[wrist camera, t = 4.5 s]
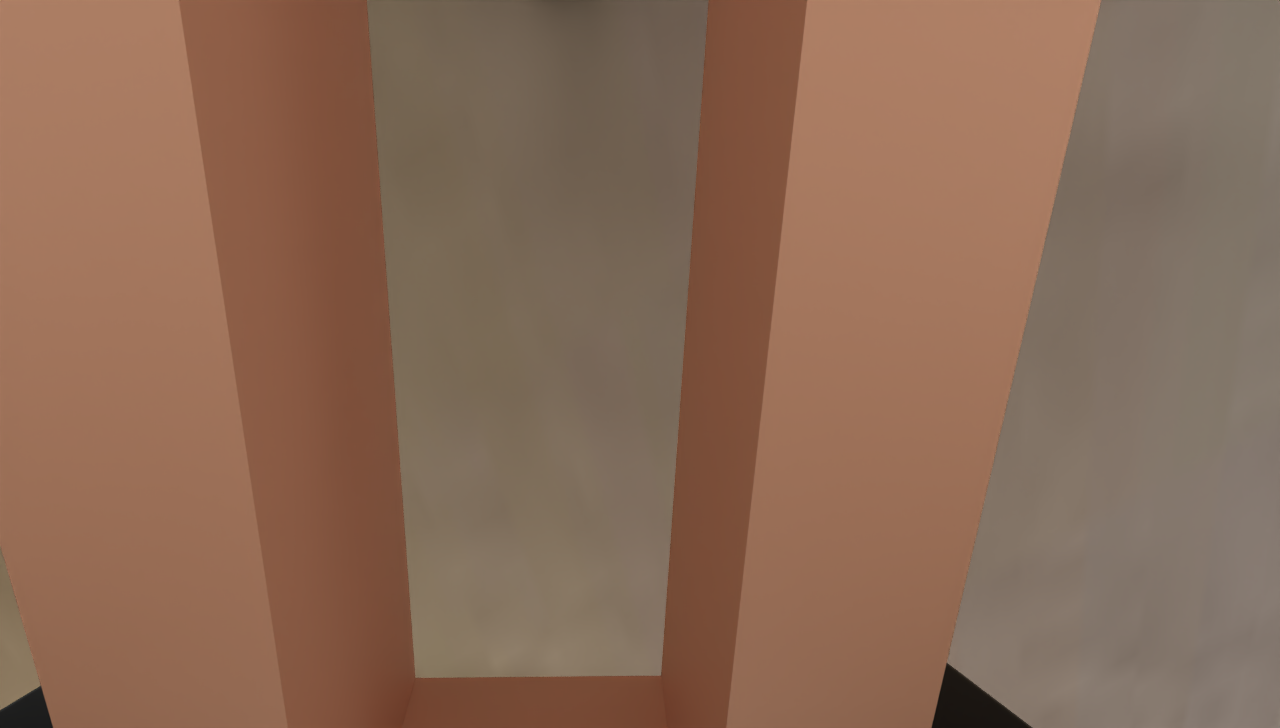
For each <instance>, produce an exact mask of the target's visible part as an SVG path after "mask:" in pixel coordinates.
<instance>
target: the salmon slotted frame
mask: <svg viewBox="0 0 1280 728" xmlns="http://www.w3.org/2000/svg"><path fill="white" fill-rule="evenodd" d="M1100 4H1101V0H709V3H708V18H707V32H706V46H705V60H704V74H703V89H702V103H701V117H700V131H699V146H698V160H697V174H696V188H695V202H694V217H693V231H692V245H691V259H690V274H689V288H688V302H687V316H686V330H685V345H684V359H683V373H682V387H681V401H680V416H679V430H678V444H677V458H676V473H675V487H674V501H673V515H672V529H671V544H670V558H669V572H668V586H667V601H666V615H665V629H664V643H663V657H662V672H661V676H583V677H478V678H415V667H414V653H413V639H412V625H411V611H410V597H409V583H408V569H407V555H406V541H405V527H404V514H403V500H402V486H401V472H400V458H399V444H398V430H397V416H396V402H395V388H394V374H393V360H392V346H391V333H390V319H389V305H388V291H387V277H386V263H385V249H384V235H383V221H382V207H381V193H380V179H379V165H378V151H377V138H376V124H375V110H374V96H373V82H372V68H371V54H370V40H369V26H368V12H367V0H0V546H1V549H2V553H3V556H4V560H5V563H6V566H7V570H8V573H9V577H10V580H11V584H12V587H13V591H14V594H15V598H16V601H17V604H18V608H19V611H20V615H21V618H22V622H23V625H24V629H25V632H26V636H27V639H28V642H29V646H30V649H31V653H32V656H33V660H34V663H35V667H36V670H37V674H38V677H39V680H40V684H41V687H42V691H43V694H44V698H45V701H46V705H47V708H48V712H49V715H50V718H51V722H52V725H53V728H931V727H932V723H933V719H934V715H935V710H936V706H937V702H938V697H939V693H940V689H941V685H942V680H943V676H944V672H945V668H946V663H947V659H948V655H949V650H950V646H951V642H952V638H953V633H954V629H955V625H956V620H957V616H958V612H959V608H960V603H961V599H962V595H963V590H964V586H965V582H966V578H967V573H968V569H969V565H970V560H971V556H972V552H973V548H974V543H975V539H976V535H977V530H978V526H979V522H980V518H981V513H982V509H983V505H984V500H985V496H986V492H987V488H988V483H989V479H990V475H991V470H992V466H993V462H994V458H995V453H996V449H997V445H998V440H999V436H1000V432H1001V428H1002V423H1003V419H1004V415H1005V411H1006V406H1007V402H1008V398H1009V393H1010V389H1011V385H1012V381H1013V376H1014V372H1015V368H1016V363H1017V359H1018V355H1019V351H1020V346H1021V342H1022V338H1023V333H1024V329H1025V325H1026V321H1027V316H1028V312H1029V308H1030V303H1031V299H1032V295H1033V291H1034V286H1035V282H1036V278H1037V273H1038V269H1039V265H1040V261H1041V256H1042V252H1043V248H1044V243H1045V239H1046V235H1047V231H1048V226H1049V222H1050V218H1051V213H1052V209H1053V205H1054V201H1055V196H1056V192H1057V188H1058V183H1059V179H1060V175H1061V171H1062V166H1063V162H1064V158H1065V154H1066V149H1067V145H1068V141H1069V136H1070V132H1071V128H1072V124H1073V119H1074V115H1075V111H1076V106H1077V102H1078V98H1079V94H1080V89H1081V85H1082V81H1083V76H1084V72H1085V68H1086V64H1087V59H1088V55H1089V51H1090V46H1091V42H1092V38H1093V34H1094V29H1095V25H1096V21H1097V16H1098V12H1099V8H1100Z"/></svg>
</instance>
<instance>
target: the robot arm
mask: <svg viewBox="0 0 1280 728" xmlns="http://www.w3.org/2000/svg"><path fill="white" fill-rule="evenodd" d="M0 728H53V725H52V722H51V718H50V715H49V712H48V708H47V705H46V701H45V698H44V694H43V691H42V687H41V686H40V687H38V688H36V689H35V690H33V691H31V692H30V693H28V694H26V695H25V696H23V697H21V698H20V699H18V700H16V701H15V702H13V703H12V704H10V705H8V706H7V707H5V708H3V709H2V710H0ZM931 728H1032V727H1031V726H1030V725H1028V724H1027V723H1026V722H1024V721H1023V720H1022V719H1020V718H1019V717H1018V716H1016V715H1015V714H1014V713H1012V712H1011V711H1010V710H1008V709H1007V708H1006V707H1005V706H1003V705H1002V704H1001V703H999V702H998V701H997V700H995V699H994V698H993V697H991V696H990V695H989V694H987V693H986V692H985V691H983V690H982V689H981V688H980V687H978V686H977V685H976V684H974V683H973V682H972V681H970V680H969V679H968V678H966V677H965V676H964V675H962V674H961V673H960V672H958V671H957V670H956V669H954V668H953V667H952V666H951V665H949V664H948V663H946V668H945V672H944V676H943V680H942V685H941V689H940V693H939V697H938V702H937V706H936V710H935V715H934V719H933V723H932V727H931Z"/></svg>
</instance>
